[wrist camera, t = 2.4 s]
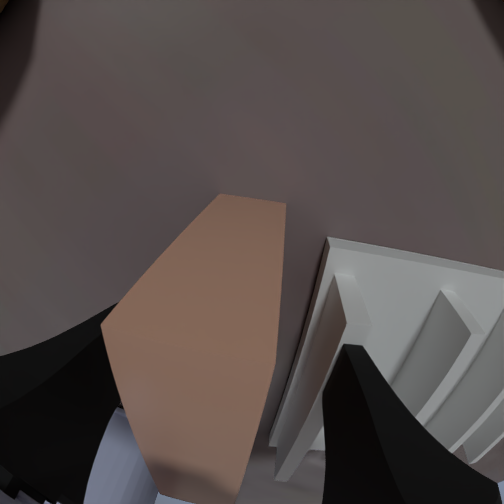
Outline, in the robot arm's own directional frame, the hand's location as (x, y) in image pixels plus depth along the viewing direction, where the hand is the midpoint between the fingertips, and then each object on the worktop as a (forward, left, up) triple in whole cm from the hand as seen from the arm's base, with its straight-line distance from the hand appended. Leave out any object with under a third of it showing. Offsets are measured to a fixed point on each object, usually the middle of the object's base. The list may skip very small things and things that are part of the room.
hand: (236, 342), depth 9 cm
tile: (0, 0, -3) cm, 3 cm away
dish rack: (-4, -11, -3) cm, 12 cm away
